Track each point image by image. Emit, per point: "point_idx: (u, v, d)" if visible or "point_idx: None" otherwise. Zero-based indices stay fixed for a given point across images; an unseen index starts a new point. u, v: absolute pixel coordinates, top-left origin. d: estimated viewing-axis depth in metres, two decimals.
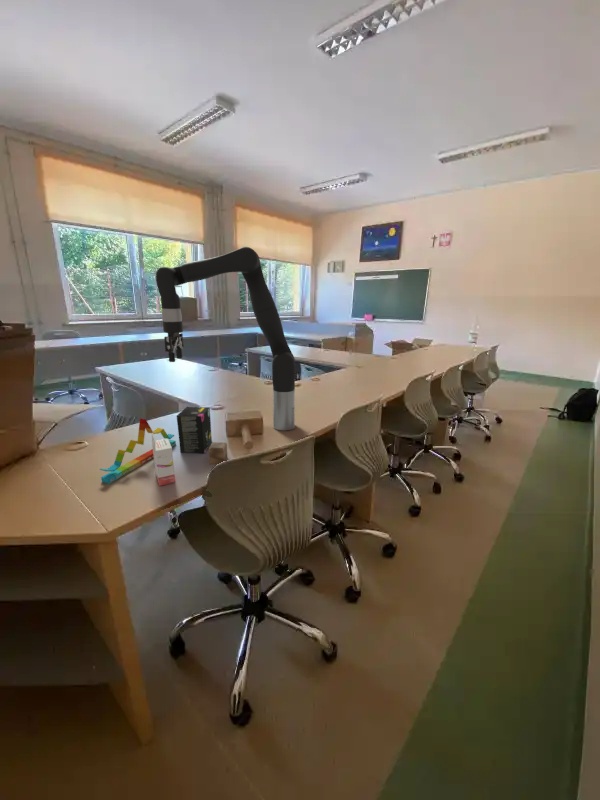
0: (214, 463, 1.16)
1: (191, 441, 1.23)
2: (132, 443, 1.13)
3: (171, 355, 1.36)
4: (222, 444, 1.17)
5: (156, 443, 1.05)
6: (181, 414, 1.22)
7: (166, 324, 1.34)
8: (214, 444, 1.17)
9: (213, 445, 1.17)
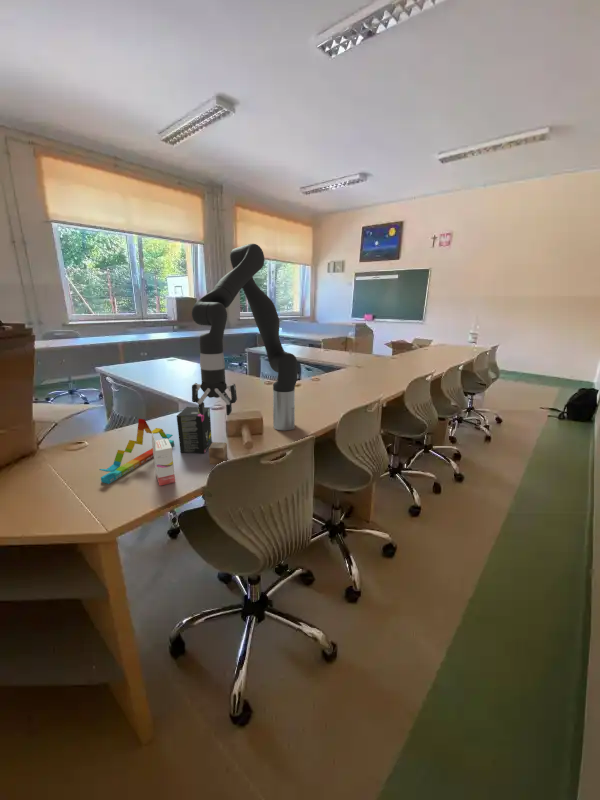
0: (214, 463, 1.16)
1: (191, 441, 1.23)
2: (131, 443, 1.13)
3: (231, 406, 1.13)
4: (222, 444, 1.17)
5: (156, 443, 1.05)
6: (181, 414, 1.22)
7: (223, 371, 1.08)
8: (214, 444, 1.17)
9: (213, 445, 1.17)
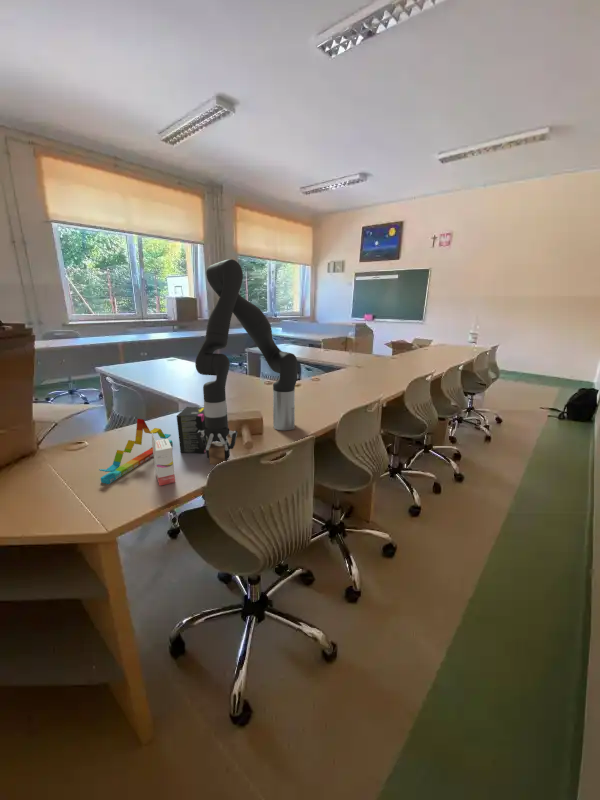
0: (214, 463, 1.16)
1: (191, 441, 1.23)
2: (130, 443, 1.13)
3: (229, 451, 1.18)
4: None
5: (156, 443, 1.05)
6: (181, 414, 1.22)
7: (225, 418, 1.13)
8: (214, 444, 1.17)
9: (213, 445, 1.17)
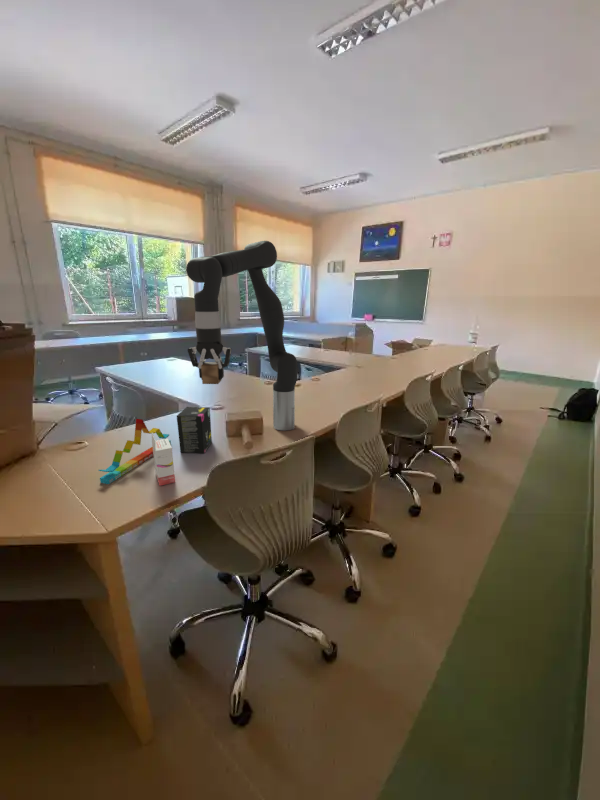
0: (207, 382, 1.09)
1: (191, 441, 1.23)
2: (129, 443, 1.12)
3: (223, 370, 1.11)
4: (215, 363, 1.10)
5: (156, 443, 1.05)
6: (181, 414, 1.22)
7: (219, 331, 1.05)
8: (207, 363, 1.10)
9: (206, 363, 1.09)
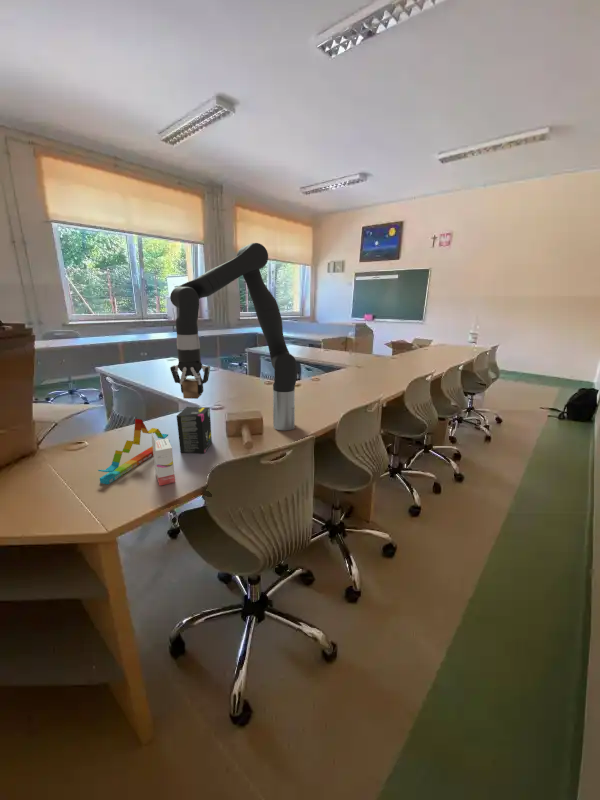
0: (188, 397, 1.21)
1: (191, 441, 1.23)
2: (129, 443, 1.12)
3: (202, 386, 1.23)
4: None
5: (156, 443, 1.05)
6: (181, 414, 1.22)
7: (198, 351, 1.17)
8: (188, 379, 1.22)
9: (187, 380, 1.21)
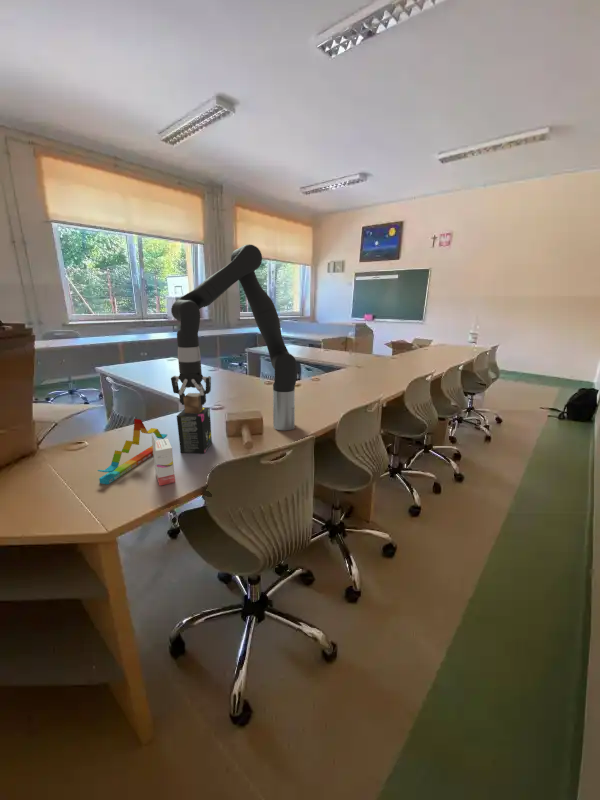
0: (189, 412, 1.23)
1: (191, 441, 1.23)
2: (128, 443, 1.12)
3: (205, 396, 1.24)
4: (197, 394, 1.24)
5: (156, 443, 1.05)
6: (181, 414, 1.22)
7: (198, 364, 1.19)
8: (189, 394, 1.24)
9: (188, 395, 1.23)
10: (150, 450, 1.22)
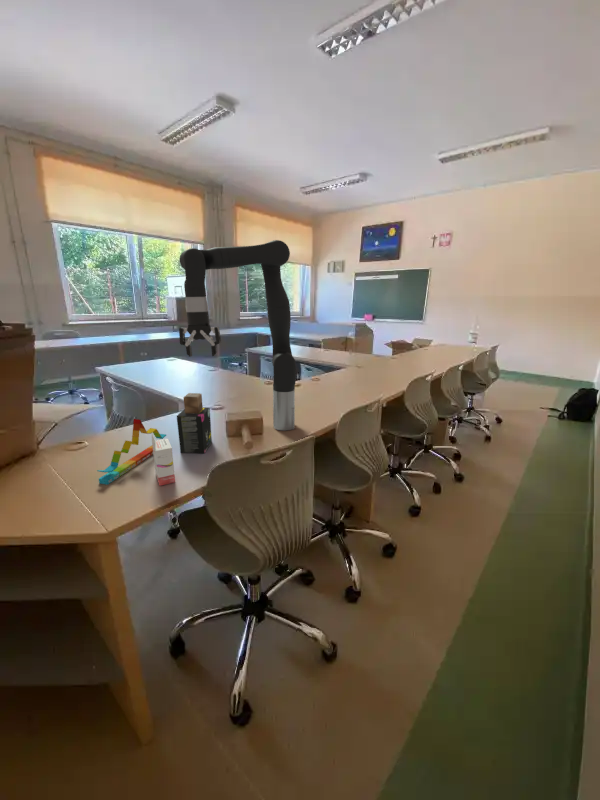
0: (189, 412, 1.23)
1: (191, 441, 1.23)
2: (127, 443, 1.12)
3: (215, 348, 1.24)
4: (197, 394, 1.24)
5: (156, 443, 1.05)
6: (181, 414, 1.22)
7: (207, 314, 1.19)
8: (189, 394, 1.24)
9: (188, 395, 1.23)
10: (149, 450, 1.22)
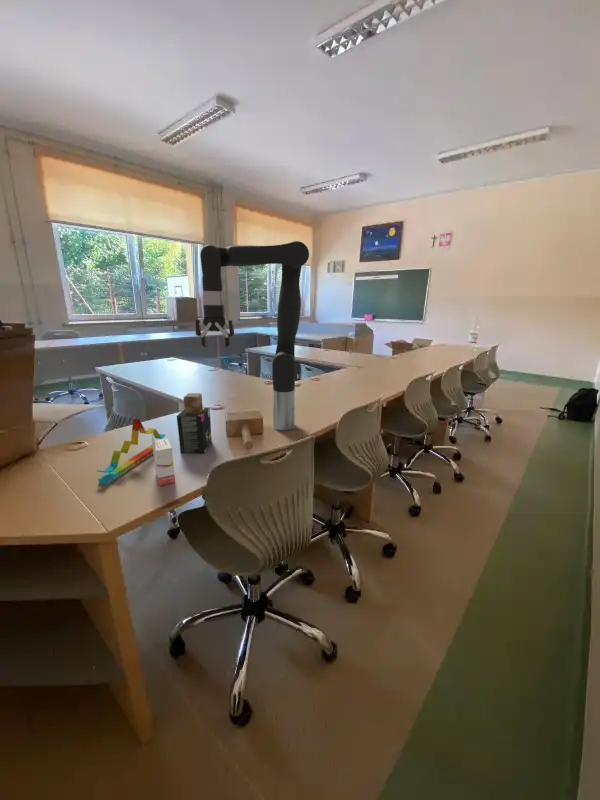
0: (189, 412, 1.23)
1: (191, 441, 1.23)
2: (127, 444, 1.12)
3: (229, 339, 1.31)
4: (197, 394, 1.24)
5: (156, 443, 1.05)
6: (181, 414, 1.22)
7: (222, 308, 1.26)
8: (189, 394, 1.24)
9: (188, 395, 1.23)
10: (148, 450, 1.22)
